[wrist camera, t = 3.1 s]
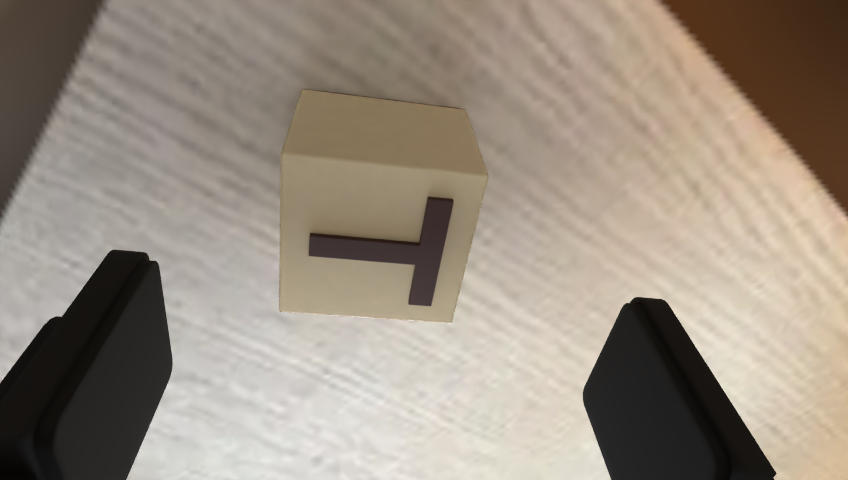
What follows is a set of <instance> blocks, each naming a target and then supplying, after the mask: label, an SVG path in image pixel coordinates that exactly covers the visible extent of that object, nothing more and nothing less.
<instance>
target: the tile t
mask: <svg viewBox="0 0 848 480" xmlns="http://www.w3.org/2000/svg"><path fill="white" fill-rule="evenodd" d="M487 180H488V173H487V170H486V167H485V165H484V162H483V159H482V156H481V153H480V150H479V148H478V145H477V142H476V139H475V136H474V133H473V131H472V128H471V125H470V122H469V119H468V116H467V114H466V111H465V110H463V109H455V108H447V107H439V106H431V105H423V104H415V103H407V102H400V101H392V100H384V99H376V98H368V97H360V96H352V95H344V94H336V93H329V92H321V91H313V90H305V89H304V90H302V91H301V94H300V97H299V100H298V103H297V106H296V109H295V112H294V115H293V118H292V121H291V124H290V127H289V130H288V133H287V136H286V139H285V142H284V145H283V148H282V151H281V175H280V274H279V310H280V312H289V313H304V314H318V315H333V316H348V317H363V318H377V319H392V320H407V321H422V322H436V323H451V322H452V319H453V316H454V312H455V308H456V304H457V300H458V296H459V292H460V288H461V284H462V280H463V276H464V272H465V268H466V264H467V260H468V256H469V252H470V248H471V244H472V240H473V236H474V232H475V228H476V224H477V220H478V216H479V212H480V208H481V204H482V200H483V196H484V192H485V188H486V184H487Z"/></svg>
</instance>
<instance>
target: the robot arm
mask: <svg viewBox="0 0 848 480" xmlns="http://www.w3.org/2000/svg"><path fill="white" fill-rule="evenodd" d="M172 363H173V362H172V353H171V346H170V339H169V332H168V325H167V318H166V311H165V304H164V297H163V290H162V283H161V276H160V269H159V265H158V263H157V262H156V261H150V260H149V256H148V255H147V253H145V252H135V251H124V250H112V251H110V252H109V253H108V254H107V256H106V257H105V258H104V260H103V261H102V262H101V264H100V265H99V267H98V268H97V269H96V271H95V272H94V273H93V275H92V276H91V278H90V279H89V280H88V282H87V283H86V284H85V286H84V287H83V289H82V290H81V291H80V293H79V294H78V295H77V297H76V298H75V300H74V301H73V302H72V304H71V305H70V306H69V308H68V309H67V311H66V312H65V313H64V315H63V316H62V317H57V316H56V317H54V318H52V319H50V320H49V321H48V322H47V323H46V324H45V325H44V326H43V327H42V329H41V330H40V331H39V333H38V334H37V335H36V337H35V338H34V339H33V341H32V342H31V343H30V345H29V346H28V347H27V348H26V350H25V351H24V352H23V354H22V355H21V356H20V358H19V359H18V360H17V362H16V363H15V364H14V366H13V367H12V368H11V370H10V371H9V372H8V374H7V375H6V376H5V378H4V379H3V380H2V382H1V383H0V480H126V479H127V477H128V474H129V472H130V470H131V467H132V465H133V463H134V460H135V458H136V456H137V453H138V451H139V449H140V446H141V444H142V442H143V439H144V437H145V435H146V432H147V430H148V428H149V425H150V423H151V421H152V418H153V416H154V414H155V411H156V409H157V407H158V404H159V402H160V400H161V397H162V395H163V393H164V390H165V388H166V386H167V383H168V381H169V379H170V376H171V372H172ZM583 402H584V406H585V409H586V411H587V414H588V417H589V420H590V422H591V425H592V428H593V431H594V433H595V436H596V439H597V442H598V444H599V447H600V450H601V453H602V455H603V458H604V461H605V464H606V466H607V469H608V472H609V475H610V477H611V480H774V478H773V477H774V476H775V475H776V472H775V470H774V469H773V467H772V466H771V464H770V463H769V461H768V460H767V458H766V456H765V455H764V453H763V452H762V450H761V449H760V447H759V445H758V444H757V442H756V441H755V439H754V438H753V436H752V434H751V433H750V431H749V430H748V428H747V427H746V425H745V424H744V422H743V420H742V419H741V417H740V416H739V414H738V413H737V411H736V409H735V408H734V406H733V405H732V403H731V402H730V400H729V398H728V397H727V395H726V394H725V392H724V391H723V389H722V388H721V386H720V384H719V383H718V381H717V380H716V378H715V377H714V375H713V373H712V372H711V370H710V369H709V367H708V366H707V364H706V362H705V361H704V359H703V358H702V356H701V355H700V353H699V352H698V350H697V348H696V347H695V345H694V344H693V342H692V341H691V339H690V337H689V336H688V334H687V333H686V331H685V330H684V328H683V327H682V325H681V323H680V322H679V320H678V319H677V317H676V316H675V314H674V312H673V311H672V309H671V308H670V306H669V305H668V303H667V302H666V301H664V300H662V299H653V298H642V297H636V298H634V299H633V300H632V301H631V302H630V303H626V304H625V305H624V306H623V307H622V309H621V311H620V313H619V315H618V317H617V319H616V322H615V324H614V326H613V328H612V330H611V332H610V334H609V336H608V338H607V341H606V343H605V345H604V347H603V349H602V351H601V353H600V355H599V357H598V359H597V362H596V364H595V366H594V368H593V370H592V372H591V374H590V376H589V378H588V381H587V383H586V385H585V387H584V391H583Z"/></svg>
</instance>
